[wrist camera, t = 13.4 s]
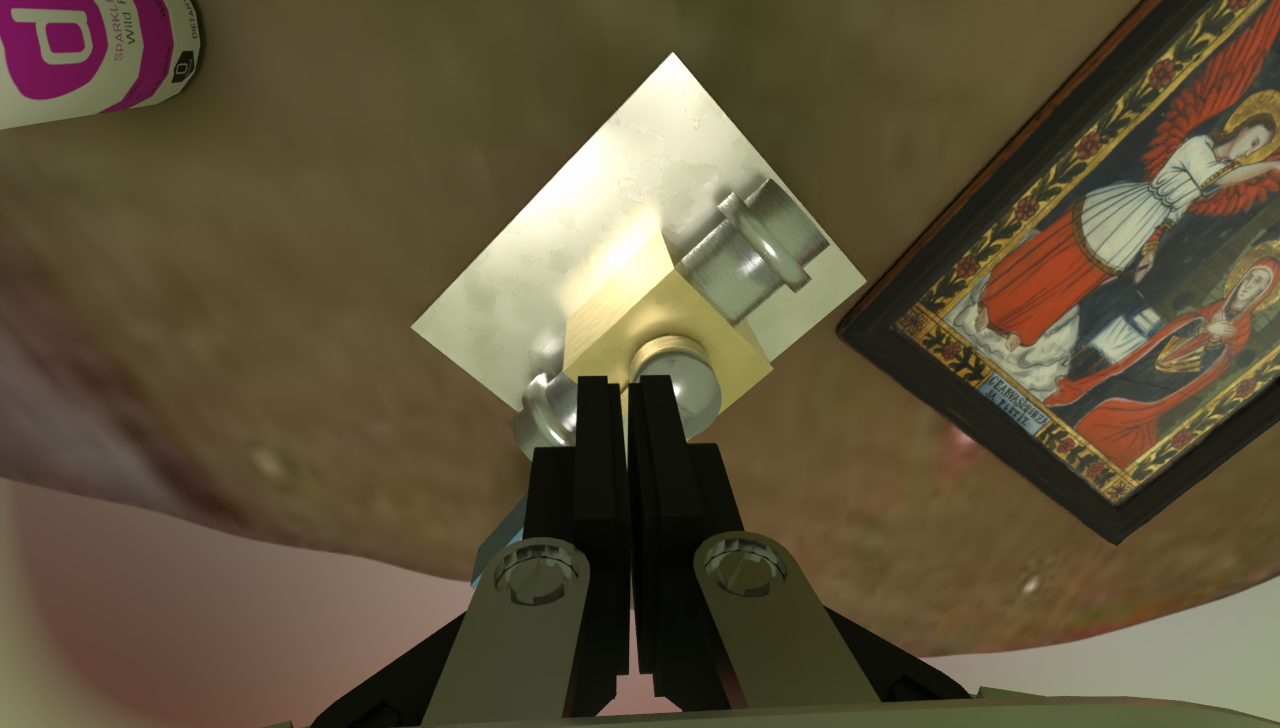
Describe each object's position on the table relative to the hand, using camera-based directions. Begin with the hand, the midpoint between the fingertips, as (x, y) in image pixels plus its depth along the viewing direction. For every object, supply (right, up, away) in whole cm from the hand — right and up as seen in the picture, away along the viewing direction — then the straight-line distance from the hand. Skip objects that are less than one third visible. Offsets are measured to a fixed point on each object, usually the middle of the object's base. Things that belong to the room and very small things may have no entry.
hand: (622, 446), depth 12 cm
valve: (0, +6, +30) cm, 30 cm away
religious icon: (+36, +9, +32) cm, 49 cm away
